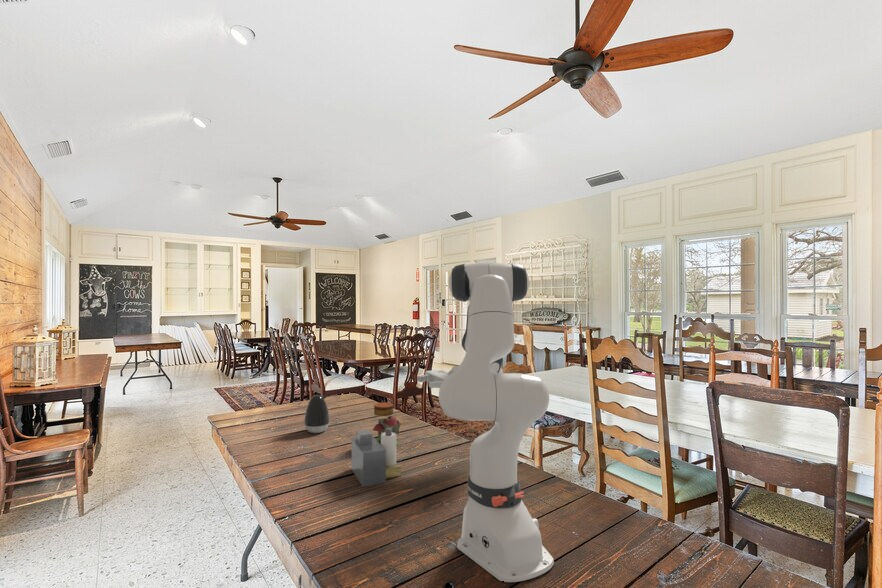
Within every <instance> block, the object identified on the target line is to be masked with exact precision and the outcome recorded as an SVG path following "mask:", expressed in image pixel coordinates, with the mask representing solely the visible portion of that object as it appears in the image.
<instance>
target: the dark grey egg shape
mask: <svg viewBox="0 0 882 588" xmlns="http://www.w3.org/2000/svg"><path fill="white" fill-rule="evenodd" d="M327 397H328V395H327V394H324V395H323V396H322V395H321V394H316V395H315V394H314V395H313V396H312V397H311V398H310V399H309V401H308V404H307V407H306V410H305V413H304V418H303V419H304V422H303V423H304V427H305V429H306V431H308V432H309V433H311V434H320V433H324V431H326V430H327V429H328V427H329V424H330V418H331V417H330V411H329V408H328V404H327V403H326V400H325V399H327Z"/></svg>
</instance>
